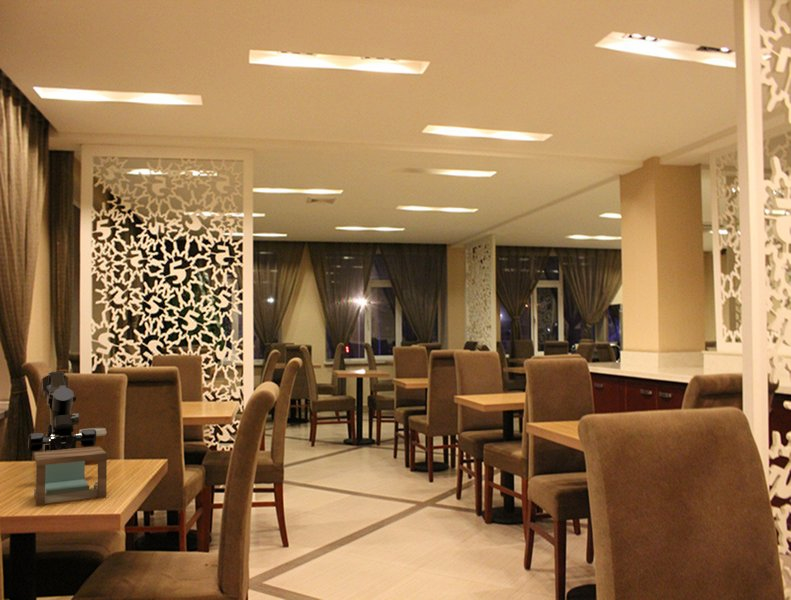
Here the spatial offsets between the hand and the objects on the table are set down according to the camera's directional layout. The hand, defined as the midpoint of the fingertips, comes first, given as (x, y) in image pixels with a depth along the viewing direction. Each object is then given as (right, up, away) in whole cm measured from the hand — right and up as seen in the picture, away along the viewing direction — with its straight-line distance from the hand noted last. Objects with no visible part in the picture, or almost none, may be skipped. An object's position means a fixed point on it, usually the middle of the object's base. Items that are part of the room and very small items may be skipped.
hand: (64, 461), depth 202 cm
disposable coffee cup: (-8, -10, +37) cm, 39 cm away
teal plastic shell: (+4, -6, -7) cm, 10 cm away
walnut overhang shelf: (+10, -5, -17) cm, 20 cm away
